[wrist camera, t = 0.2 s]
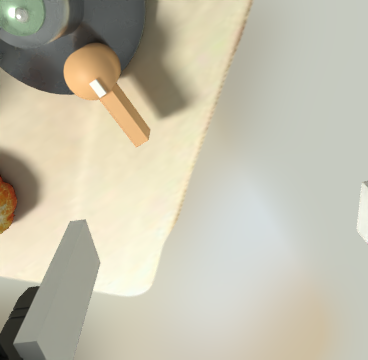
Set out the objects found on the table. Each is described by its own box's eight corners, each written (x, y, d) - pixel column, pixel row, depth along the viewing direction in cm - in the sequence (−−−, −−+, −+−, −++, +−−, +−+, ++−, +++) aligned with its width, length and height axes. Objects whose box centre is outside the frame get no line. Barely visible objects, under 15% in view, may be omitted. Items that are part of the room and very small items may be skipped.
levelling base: (-64, -104, 31) (-172, -147, 21) (135, -113, 31) (117, -161, 21) (-3, 94, 40) (-61, 128, 30) (152, 87, 40) (145, 118, 30)
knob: (65, 59, 36) (51, 68, 32) (101, 33, 35) (91, 38, 31) (128, 141, 41) (123, 158, 37) (162, 119, 40) (160, 135, 36)
